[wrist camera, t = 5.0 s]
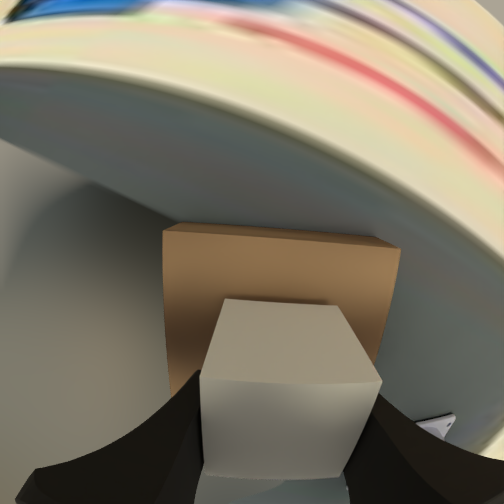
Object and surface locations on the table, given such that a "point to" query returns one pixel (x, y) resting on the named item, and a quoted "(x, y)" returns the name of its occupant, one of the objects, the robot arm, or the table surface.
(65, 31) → the table surface
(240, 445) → the grey cube
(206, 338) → the walnut block
